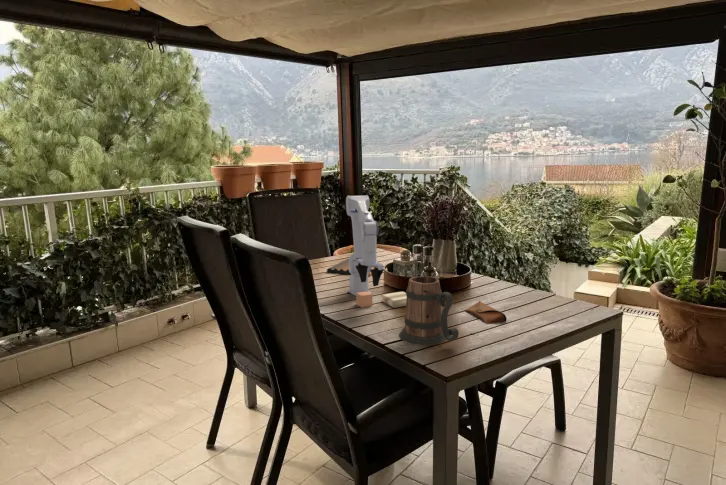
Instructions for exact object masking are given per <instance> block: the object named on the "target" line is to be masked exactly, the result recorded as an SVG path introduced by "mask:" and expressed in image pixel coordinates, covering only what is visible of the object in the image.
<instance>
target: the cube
mask: <svg viewBox="0 0 726 485" xmlns="http://www.w3.org/2000/svg"><path fill="white" fill-rule="evenodd" d="M369 292H370V291H369ZM369 292H367V291H365V292H359V293H356V296H355V297H356V298H355V299H356V301H355V303H356V305H357V306H358V307H360V308H367V307H372V306H373V293H372V292H371V293H372V294H371V293H369Z"/></svg>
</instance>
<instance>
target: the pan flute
mask: <svg viewBox="0 0 726 485" xmlns="http://www.w3.org/2000/svg"><path fill="white" fill-rule="evenodd" d="M372 269H374V268H372ZM326 272H327V274H336V273H338V274H340V275H346V274H349V276H350V274H351V273H350V272H349V258H346V259H345V260H342V261H340V262H339V263H337V264H334V265H332V266H330V267H328V268H327V269H326ZM368 276H369V277H372V274H371V273H369V275H368Z"/></svg>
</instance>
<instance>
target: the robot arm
mask: <svg viewBox="0 0 726 485" xmlns="http://www.w3.org/2000/svg"><path fill="white" fill-rule="evenodd" d="M370 203H371V202H370V197H369V195H368V194H366V195H347V196H346V198H345V207H346V214H347V216H348V217H350V219H351V225H352V226H351V227H352V239H353V240H352V241H353V250H354V251H353V253H352V254H351V255H350V256H349V257H348V259H349V272H350V273H351V275H349V278H348V279H349V280H348V281H349V283H348V284H349V289H348V290H347V293H350V294H352V295H353V296H355V297H356V293H359V292H365V291H367V292H369V293H371V294H372V295H373V293H372V292H371V291H369V277H368V275H369V273H371V274H372V275H371V278H372V285H373V287H378V286H379V283H380V279H381V276H382V275H383V273H384V264H382V263H380V262H378V261H377V244H378V243H377V239H378V238H377V236H378V235H379V223H378V221H376V220H374V218H373V214H372V213H371V212H370V211H369V208H370ZM372 268H374V269H372Z"/></svg>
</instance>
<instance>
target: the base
mask: <svg viewBox="0 0 726 485" xmlns="http://www.w3.org/2000/svg"><path fill="white" fill-rule="evenodd" d="M381 300H382V303H384V304H386V305H389V307H392V308H394V309H395V308H400V307H406V300H407V296H406V292H405V291H403V290H402V291H396V292H390V293H384V294H382V295H381Z"/></svg>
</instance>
